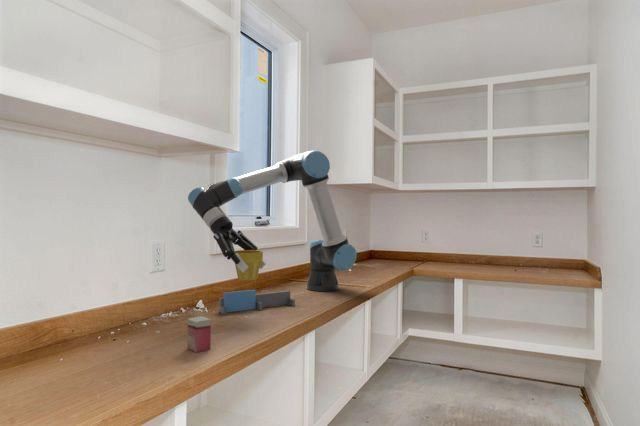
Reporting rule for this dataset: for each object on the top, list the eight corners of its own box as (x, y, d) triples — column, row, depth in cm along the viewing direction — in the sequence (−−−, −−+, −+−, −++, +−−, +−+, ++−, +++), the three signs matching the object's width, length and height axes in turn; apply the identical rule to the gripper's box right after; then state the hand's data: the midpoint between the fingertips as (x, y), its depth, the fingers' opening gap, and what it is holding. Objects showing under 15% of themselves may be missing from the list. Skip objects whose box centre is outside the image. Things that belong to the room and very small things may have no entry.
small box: (186, 348, 108) (186, 318, 108) (201, 344, 111) (201, 315, 111) (196, 353, 105) (196, 321, 105) (211, 349, 108) (211, 318, 108)
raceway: (289, 303, 163) (289, 285, 163) (295, 305, 159) (295, 287, 159) (219, 311, 149) (219, 292, 149) (223, 314, 144) (223, 294, 144)
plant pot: (246, 282, 137) (246, 253, 137) (226, 279, 143) (226, 251, 143) (268, 278, 145) (268, 251, 145) (248, 276, 152) (248, 249, 152)
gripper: (231, 228, 161) (265, 271, 155) (190, 230, 140) (228, 279, 134) (242, 215, 159) (278, 257, 152) (203, 215, 138) (241, 264, 132)
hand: (254, 268), depth 143 cm, fingers closed on plant pot, 10 cm apart
